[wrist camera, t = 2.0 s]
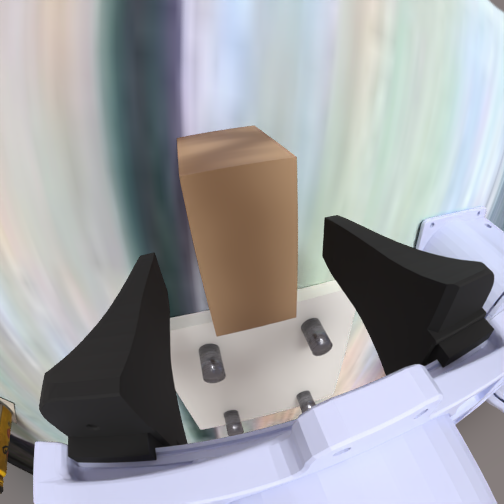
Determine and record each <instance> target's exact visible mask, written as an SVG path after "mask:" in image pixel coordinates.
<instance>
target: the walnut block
mask: <svg viewBox="0 0 504 504" xmlns="http://www.w3.org/2000/svg"><path fill="white" fill-rule="evenodd" d="M177 149H178V164H179V177H180V182H181V187H182V192H183V197H184V202H185V207H186V212H187V216H188V221H189V226H190V230H191V235H192V239H193V244H194V248H195V252H196V257H197V261H198V265H199V269H200V274H201V278H202V282H203V286H204V290H205V294H206V298H207V302H208V306H209V310H210V314H211V317H212V321H213V325H214V329H215V332H216V336H217V337H218V336H222V335H227V334H231V333H236V332H240V331H244V330H248V329H253V328H257V327H261V326H265V325H269V324H273V323H277V322H281V321H285V320H288V319H292V318H296V314H297V265H298V201H297V157H296V156H294V155H293V154H292V153H291V152H289V151H288V150H287V149H285V148H284V147H283V146H281V145H280V144H279V143H277V142H276V141H275V140H273V139H272V138H271V137H269V136H268V135H267V134H265V133H264V132H262V131H261V130H260V129H258V128H257V127H255V126H247V127H240V128H233V129H226V130H220V131H213V132H207V133H202V134H196V135H191V136H186V137H180V138H177Z"/></svg>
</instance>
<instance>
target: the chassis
mask: <svg viewBox="0 0 504 504" xmlns="http://www.w3.org/2000/svg"><path fill="white" fill-rule="evenodd" d="M355 310H356V309H355V308H354V306H353V305H352V303H351V302H350V300H349V299H348V297H347V296H346V295H345V293H344V292H343V290H342V289H341V287H340V286H339V284H338V283H337V282H336V280H333V281H329V282H325V283H321V284H317V285H313V286H309V287H306V288H302V289H298V290H297V314H296V318H292V319H288V320H285V321H281V322H277V323H273V324H269V325H265V326H261V327H257V328H253V329H248V330H244V331H240V332H236V333H231V334H227V335H222V336H218V337H217V336H216V332H215V329H214V325H213V321H212V317H211V314H210V310H207V311H202V312H197V313H192V314H188V315H183V316H178V317H173V318H170V349H171V366H172V373H173V379H174V385H175V390H176V391H177V393H178V395H179V396H180V398H181V400H182V401H183V403H184V405H185V406H186V408H187V409H188V411H189V413H190V414H191V416H192V417H193V419H194V420H195V422H196V423H197V425H198V426H199V428H200V429H201V430H202V429H207V428H213V427H218V426H223V425H226V427H227V431H228V435H229V436H234V435H238V434H243V432H244V431H243V428H242V424H241V422H242V421H246V420H250V419H255V418H259V417H263V416H266V415H270V414H274V413H278V412H281V411H285V410H288V409H292V408H295V407H298V406H300V408H301V410H302V413H304V412H305V411H307V410H308V409H310V408H311V407H312V406H314V405H315V402H314V401H317V400H320V399H323V398H326V397H329V396H332V395H333V394H334V391H335V387H336V384H337V381H338V377H339V374H340V370H341V366H342V363H343V359H344V355H345V352H346V348H347V344H348V340H349V336H350V332H351V327H352V323H353V319H354V314H355Z"/></svg>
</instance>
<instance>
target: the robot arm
mask: <svg viewBox="0 0 504 504" xmlns="http://www.w3.org/2000/svg"><path fill="white" fill-rule="evenodd" d="M485 214H486V208H485V207H484V206H482V207H477V208H473V209H468V210H464V211H460V212H455V213H451V214H446V215H441V216H437V217H432V218H428V219H425V220H424V221H423V222H422V224H421V228H420V232H419V237H418V241H417V245H416V249H415V248H412V247H409V246H407V245H404V244H401V243H399V242H396V241H394V240H391V239H389V238H387V237H384V236H382V235H380V234H378V233H376V232H374V231H371V230H369V229H367V228H365V227H363V226H361V225H359V224H357V223H355V222H352V221H350V220H348V219H346V218H343V217H341V216H338V215H336V216H330V217H325V221H324V239H323V255H322V256H323V258H324V260H325V262H326V265H327V267H328V268H329V270H330V272H331V274H332V276H333V277H334V279H335V280H336V282H337V283H338V284H339V286H340V287H341V289H342V290H343V292H344V293H345V295H346V296H347V297H348V299H349V300H350V302H351V303H352V305H353V306H354V308H355V309H356V311H357V312H358V314H359V316H360V317H361V319H362V321H363V323H364V325H365V327H366V329H367V331H368V333H369V335H370V337H371V339H372V342H373V344H374V346H375V348H376V351H377V353H378V356H379V358H380V361H381V363H382V366H383V368H384V371H385V374H386V376H385V377H383V378H380V379H378V380H376V381H373V382H371V383H369V384H366V385H364V386H361V387H359V388H356V389H354V390H351V391H349V392H346V393H343V394H341V395H338V396H335V397H332V398H330V399H328V400H326V401H323V402H321V403H319V404H317V405H314V406H312V407H311V408H310V409H308V410H307V411H305V412H304V413H302V414H301V415H299V417H298V418H297V419H295V420H292V421H288V422H285V423H281V424H278V425H274V426H271V427H267V428H263V429H259V430H255V431H251V432H247V433H243V434H238V435H234V436H229V437H224V438H219V439H214V440H208V441H203V442H197V443H190V444H188V443H187V440H186V436H185V432H184V428H183V424H182V420H181V415H180V411H179V406H178V401H177V396H176V391H175V385H174V379H173V373H172V366H171V349H170V308H169V300H168V293H167V288H166V286H165V283H164V280H163V277H162V274H161V271H160V268H159V265H158V262H157V259H156V255H155V253H150V254H146V255H141V256H140V257H139V259H138V260H137V262H136V264H135V266H134V268H133V269H132V271H131V273H130V275H129V277H128V279H127V280H126V282H125V284H124V286H123V287H122V289H121V291H120V292H119V294H118V296H117V297H116V299H115V300H114V302H113V304H112V305H111V307H110V308H109V309H108V311H107V312H106V314H105V315H104V316H103V317H102V319H101V320H100V321H99V323H98V324H97V325H96V326H95V327H94V328H93V330H92V331H91V332H90V333H89V334H88V335H87V336H86V337H85V339H84V340H83V341H82V342H81V343H80V344H79V345H78V346H77V347H76V348H75V349H74V350H73V351H71V352H70V353H69V354H68V355H67V356H66V357H65V358H64V359H63V360H61V361H60V362H59V363H58V364H56V365H55V366H54V367H53V368H51V369H50V370H49V371H48V372H46V373H45V375H44V380H43V385H42V391H41V397H40V404H39V410H40V412H41V414H42V415H43V417H44V418H45V419H46V420H47V421H48V422H50V423H51V424H52V425H53V426H55V427H56V428H57V429H59V430H60V431H61V432H63V433H64V434H65V435H67V436H68V445H67V444H64V443H60V442H44V441H36V442H35V451H34V473H33V496H34V497H33V499H34V504H497V502H496V500H495V498H494V496H493V494H492V492H491V490H490V488H489V486H488V484H487V482H486V480H485V478H484V476H483V474H482V472H481V470H480V468H479V467H478V465H477V463H476V461H475V459H474V457H473V456H472V454H471V452H470V451H469V448H468V447H467V445H466V443H465V441H464V440H463V438H462V436H461V435H460V433H459V431H458V429H457V428H456V426H455V424H456V423H458V422H459V421H460V420H462V419H463V418H464V417H466V416H467V415H468V414H469V413H471V412H472V411H473V410H475V409H476V408H477V407H478V406H480V405H481V404H482V403H483V402H484V401H487V402H488V403H489V404H491V405H492V406H494V407H496V408H498V409H499V410H501V411H502V412H503V413H504V232H503V231H502V230H501V229H499V228H498V227H497V226H496V225H494V224H493V223H492V222H490V221H489V220H488V219H486V218H485Z"/></svg>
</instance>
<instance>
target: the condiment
mask: <svg viewBox="0 0 504 504" xmlns="http://www.w3.org/2000/svg"><path fill="white" fill-rule="evenodd" d="M12 421H13V422H15V423H16V416H15V410H14V404H13V403H11V402H9V401H6V400H4V399H2V398H0V494H1V493H2V492H3V477H5V475H6V470H7V457H8V449H9V448H8V446H9V438H10V431H11V430H10V429H11V423H12ZM16 424H17V423H16Z"/></svg>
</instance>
